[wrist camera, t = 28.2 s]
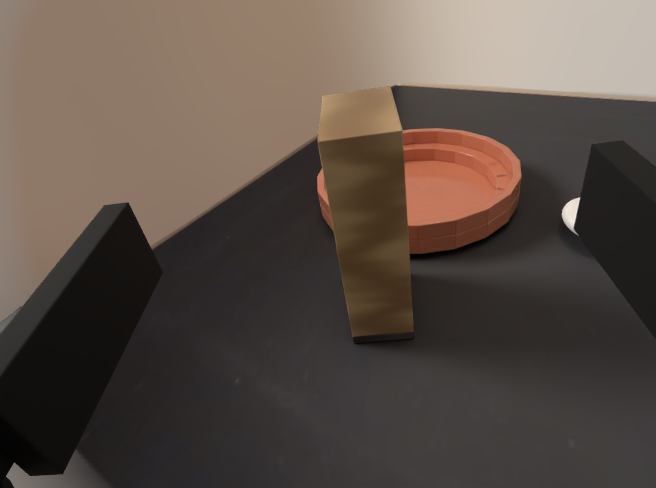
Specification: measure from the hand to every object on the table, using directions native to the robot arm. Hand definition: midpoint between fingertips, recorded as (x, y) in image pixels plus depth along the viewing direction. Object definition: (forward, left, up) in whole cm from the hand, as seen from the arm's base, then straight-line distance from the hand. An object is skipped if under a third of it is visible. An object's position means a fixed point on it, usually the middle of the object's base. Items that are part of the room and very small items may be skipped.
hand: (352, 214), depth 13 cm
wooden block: (-2, +9, -13) cm, 16 cm away
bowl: (-1, +22, -13) cm, 26 cm away
